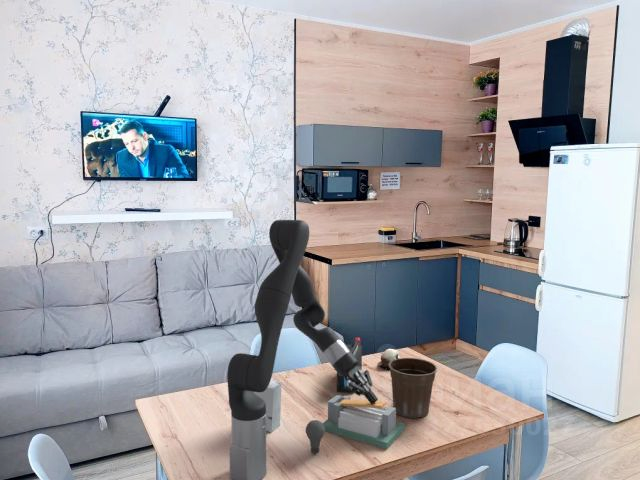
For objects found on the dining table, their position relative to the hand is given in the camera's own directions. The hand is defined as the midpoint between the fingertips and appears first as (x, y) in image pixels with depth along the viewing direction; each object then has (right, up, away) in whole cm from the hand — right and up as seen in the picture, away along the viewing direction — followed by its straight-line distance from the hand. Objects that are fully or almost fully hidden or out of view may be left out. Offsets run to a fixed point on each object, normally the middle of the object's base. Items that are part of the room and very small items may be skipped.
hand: (375, 402), depth 166 cm
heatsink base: (-3, -10, +3) cm, 11 cm away
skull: (+13, -3, +59) cm, 60 cm away
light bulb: (-19, -12, -11) cm, 25 cm away
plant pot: (+14, -8, +17) cm, 24 cm away
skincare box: (-35, -10, +5) cm, 36 cm away
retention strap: (-4, -2, +2) cm, 5 cm away
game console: (-6, -5, +41) cm, 42 cm away
